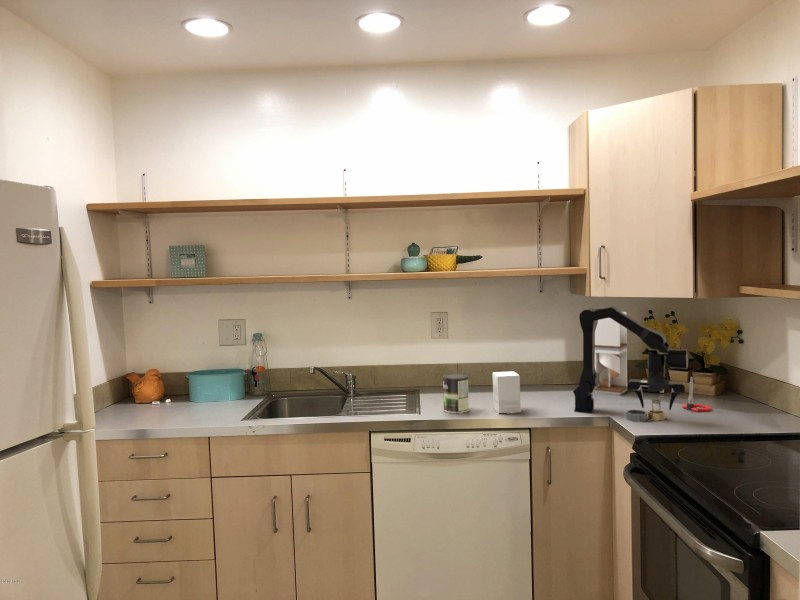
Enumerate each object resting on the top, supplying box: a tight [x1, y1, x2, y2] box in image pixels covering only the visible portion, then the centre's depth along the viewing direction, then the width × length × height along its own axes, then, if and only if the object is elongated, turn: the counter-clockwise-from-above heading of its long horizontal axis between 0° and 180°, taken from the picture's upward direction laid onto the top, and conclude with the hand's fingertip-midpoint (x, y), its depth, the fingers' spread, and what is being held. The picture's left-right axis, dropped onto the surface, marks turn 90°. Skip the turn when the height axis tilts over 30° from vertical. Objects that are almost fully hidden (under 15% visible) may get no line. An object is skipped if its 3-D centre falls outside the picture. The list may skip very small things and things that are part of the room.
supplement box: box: [492, 370, 522, 414], centre depth 228 cm, size 9×9×15 cm
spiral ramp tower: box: [593, 311, 628, 396], centre depth 253 cm, size 11×11×35 cm
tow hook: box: [682, 376, 712, 413], centre depth 221 cm, size 8×13×9 cm
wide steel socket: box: [625, 409, 648, 422], centre depth 211 cm, size 7×7×2 cm
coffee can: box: [442, 372, 470, 414], centre depth 231 cm, size 10×10×14 cm
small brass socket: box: [647, 409, 666, 421], centre depth 210 cm, size 6×6×2 cm
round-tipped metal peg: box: [651, 398, 662, 413], centre depth 210 cm, size 3×3×7 cm
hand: (656, 409), depth 210 cm, fingers open, 9 cm apart
